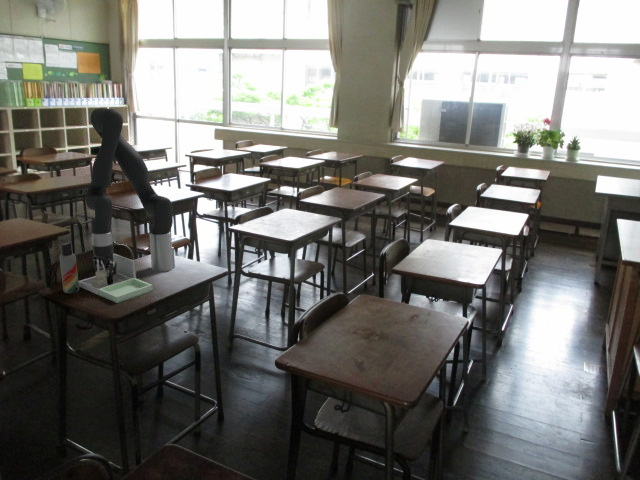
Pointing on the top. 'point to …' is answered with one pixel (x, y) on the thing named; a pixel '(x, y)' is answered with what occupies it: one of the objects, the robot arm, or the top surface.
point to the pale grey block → (99, 283)
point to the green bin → (125, 290)
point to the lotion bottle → (68, 269)
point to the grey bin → (88, 286)
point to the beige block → (102, 275)
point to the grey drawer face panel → (125, 265)
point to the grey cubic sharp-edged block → (115, 277)
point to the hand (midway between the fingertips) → (106, 282)
